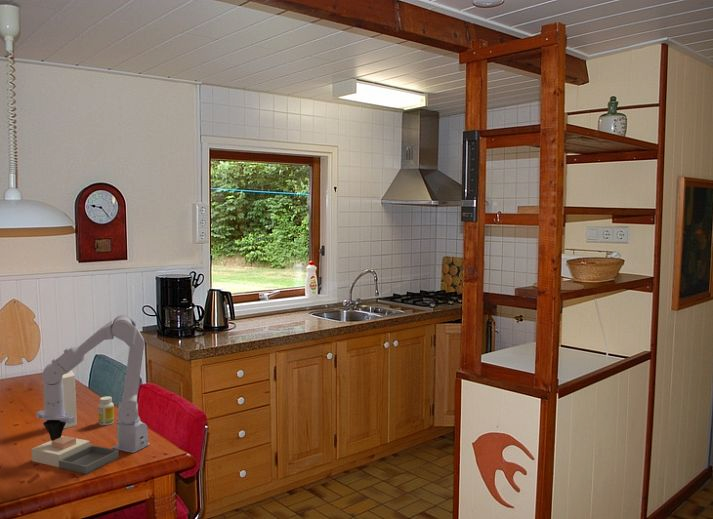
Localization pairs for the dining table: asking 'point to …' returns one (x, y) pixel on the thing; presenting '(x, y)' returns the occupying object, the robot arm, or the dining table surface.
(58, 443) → the block
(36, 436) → the dining table surface
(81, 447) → the cream square platform
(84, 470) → the tray
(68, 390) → the milk
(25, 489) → the dining table surface
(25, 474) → the dining table surface
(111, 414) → the supplement bottle
